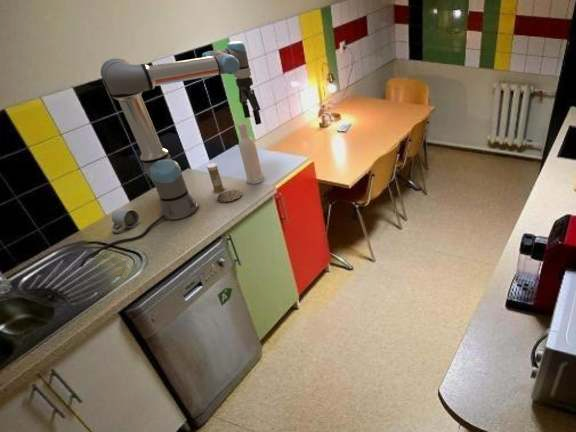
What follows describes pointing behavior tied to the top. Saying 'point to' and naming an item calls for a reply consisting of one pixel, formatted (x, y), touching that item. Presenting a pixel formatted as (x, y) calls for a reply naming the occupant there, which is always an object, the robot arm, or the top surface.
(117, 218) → the ceramic mug
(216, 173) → the sprinkles bottle
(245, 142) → the bottle
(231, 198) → the disc
